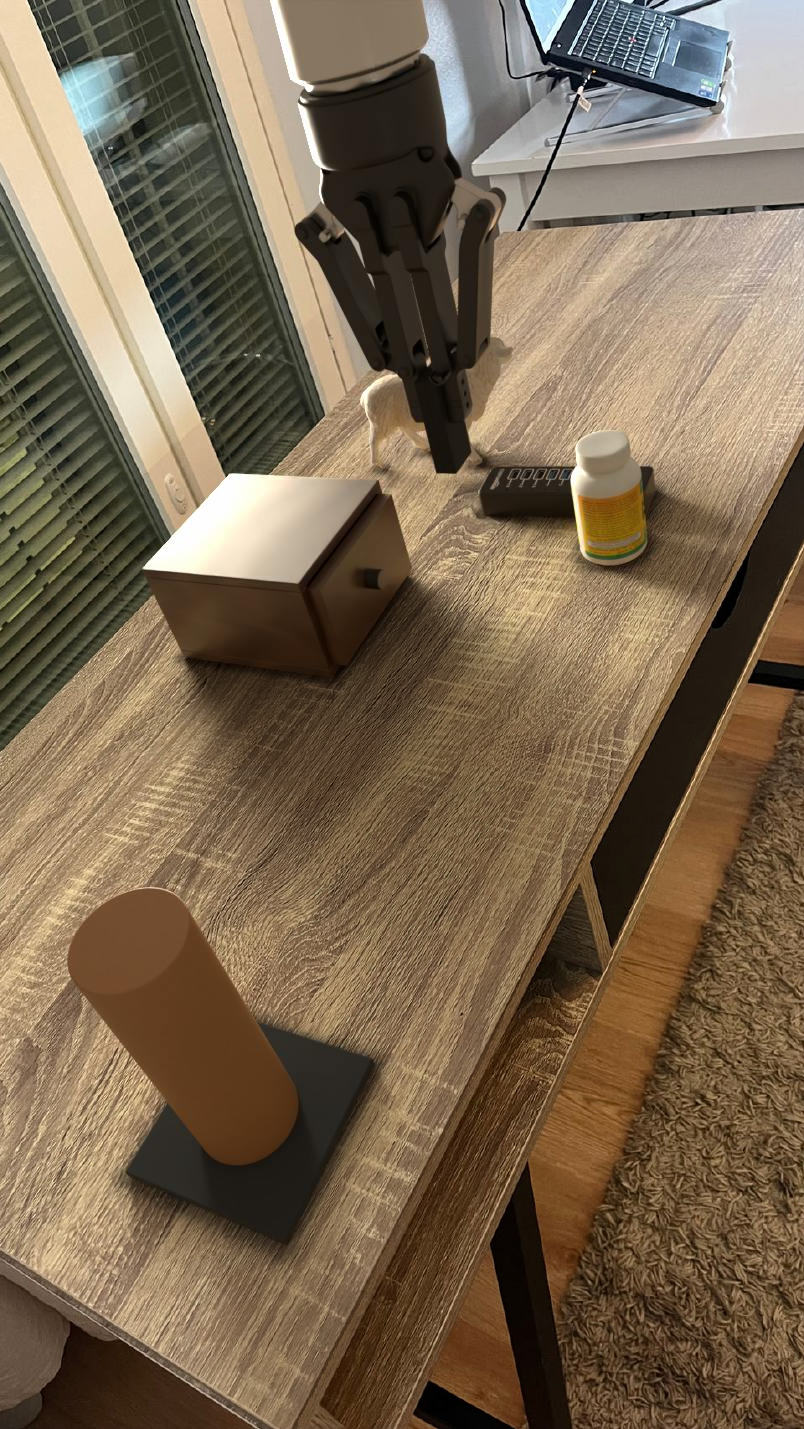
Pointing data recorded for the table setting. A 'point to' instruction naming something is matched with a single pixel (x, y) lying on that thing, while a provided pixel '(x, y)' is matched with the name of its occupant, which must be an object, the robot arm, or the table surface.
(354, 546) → the drawer
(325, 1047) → the mat
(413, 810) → the table surface
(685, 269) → the table surface
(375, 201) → the robot arm
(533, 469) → the multiport hub
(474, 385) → the figurine
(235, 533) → the cabinet
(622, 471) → the supplement bottle
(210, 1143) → the brown cylinder
